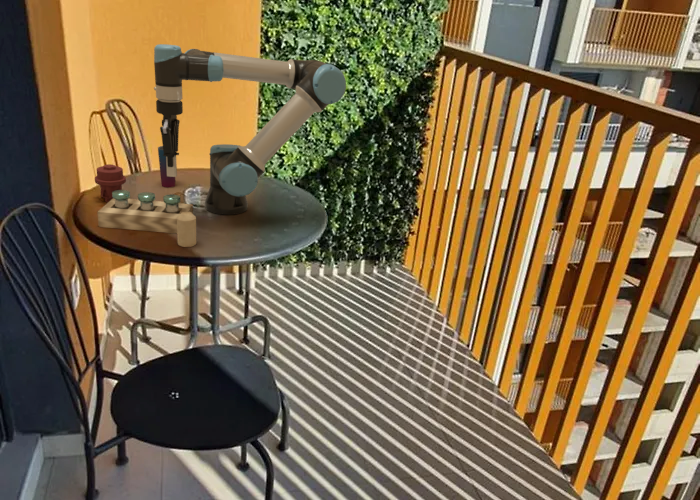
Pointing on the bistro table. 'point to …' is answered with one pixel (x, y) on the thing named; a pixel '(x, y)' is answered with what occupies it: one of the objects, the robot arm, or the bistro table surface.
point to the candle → (186, 229)
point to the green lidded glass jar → (146, 201)
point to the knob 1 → (121, 198)
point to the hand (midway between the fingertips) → (171, 175)
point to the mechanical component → (109, 180)
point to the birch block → (141, 217)
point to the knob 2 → (172, 203)
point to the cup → (164, 170)
